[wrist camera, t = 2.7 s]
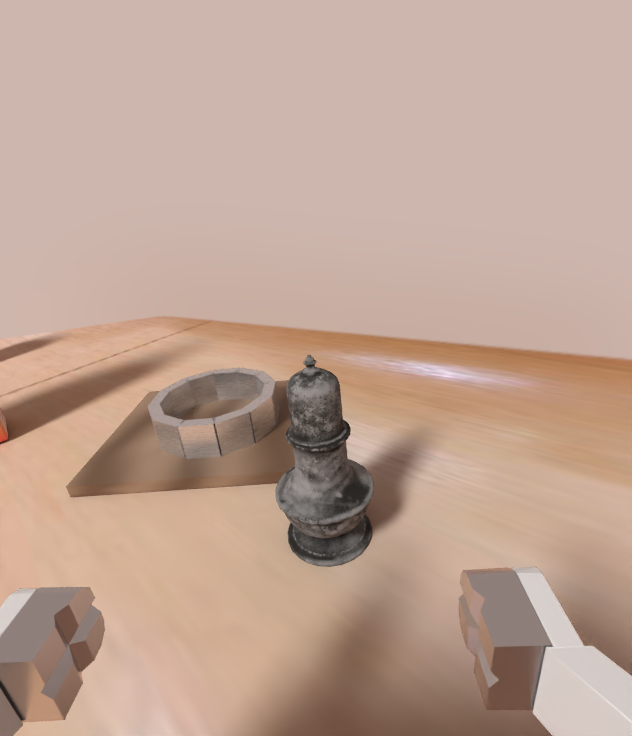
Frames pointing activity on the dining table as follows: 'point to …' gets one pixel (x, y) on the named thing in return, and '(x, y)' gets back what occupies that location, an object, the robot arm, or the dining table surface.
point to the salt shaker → (322, 474)
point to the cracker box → (3, 427)
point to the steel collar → (220, 431)
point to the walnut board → (169, 472)
